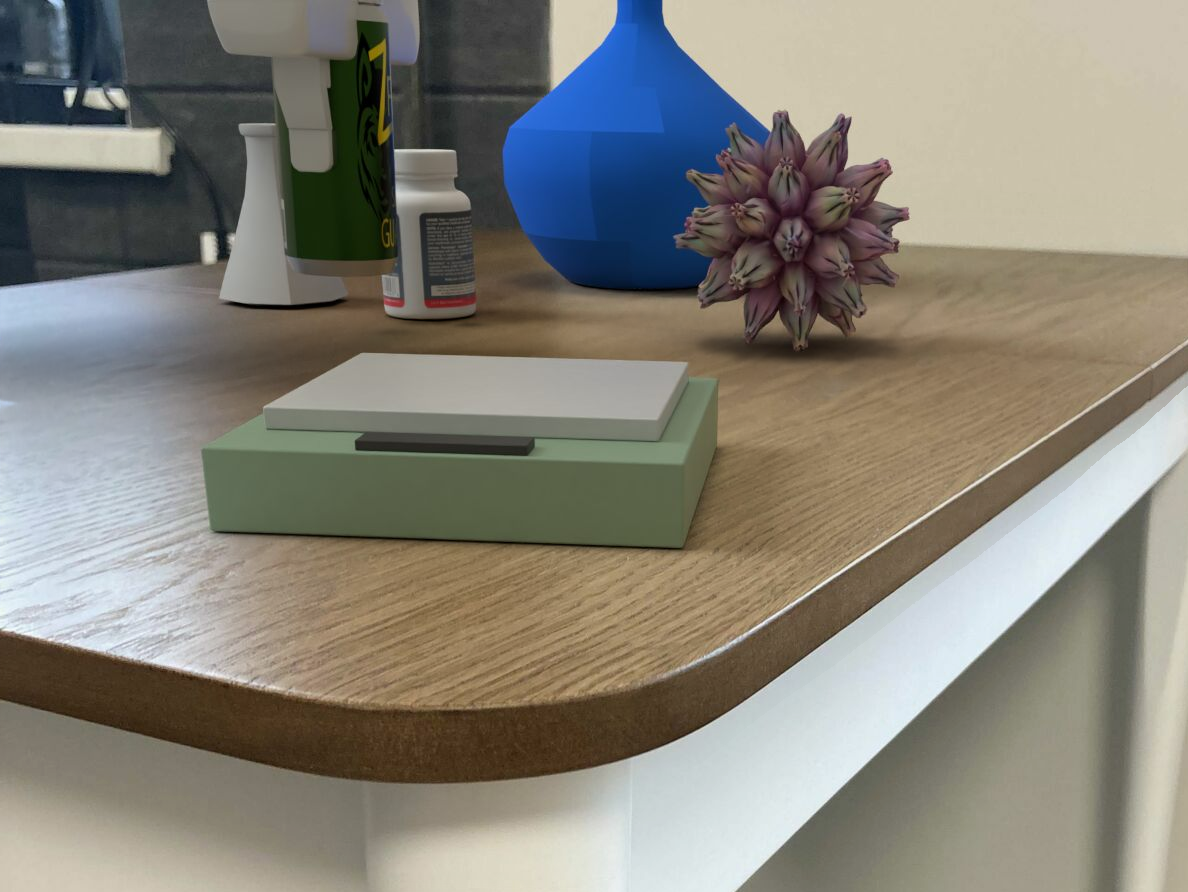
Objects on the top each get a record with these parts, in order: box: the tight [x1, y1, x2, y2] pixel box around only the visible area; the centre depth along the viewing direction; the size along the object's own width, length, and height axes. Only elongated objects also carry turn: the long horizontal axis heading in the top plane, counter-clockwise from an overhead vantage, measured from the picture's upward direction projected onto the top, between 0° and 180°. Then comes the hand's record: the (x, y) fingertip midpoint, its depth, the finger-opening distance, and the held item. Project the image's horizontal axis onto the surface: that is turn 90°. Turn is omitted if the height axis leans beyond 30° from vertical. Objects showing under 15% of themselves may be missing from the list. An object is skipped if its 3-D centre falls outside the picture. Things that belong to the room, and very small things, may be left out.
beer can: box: [270, 0, 399, 278], centre depth 71 cm, size 5×5×12 cm
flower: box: [674, 109, 910, 352], centre depth 77 cm, size 12×12×12 cm
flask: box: [218, 122, 349, 306], centre depth 90 cm, size 7×7×10 cm
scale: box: [200, 352, 719, 549], centre depth 50 cm, size 14×14×3 cm
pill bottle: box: [381, 148, 477, 320], centre depth 86 cm, size 5×5×9 cm
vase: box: [502, 0, 771, 291], centre depth 101 cm, size 18×18×19 cm
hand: (337, 168), depth 72 cm, fingers closed on beer can, 5 cm apart
